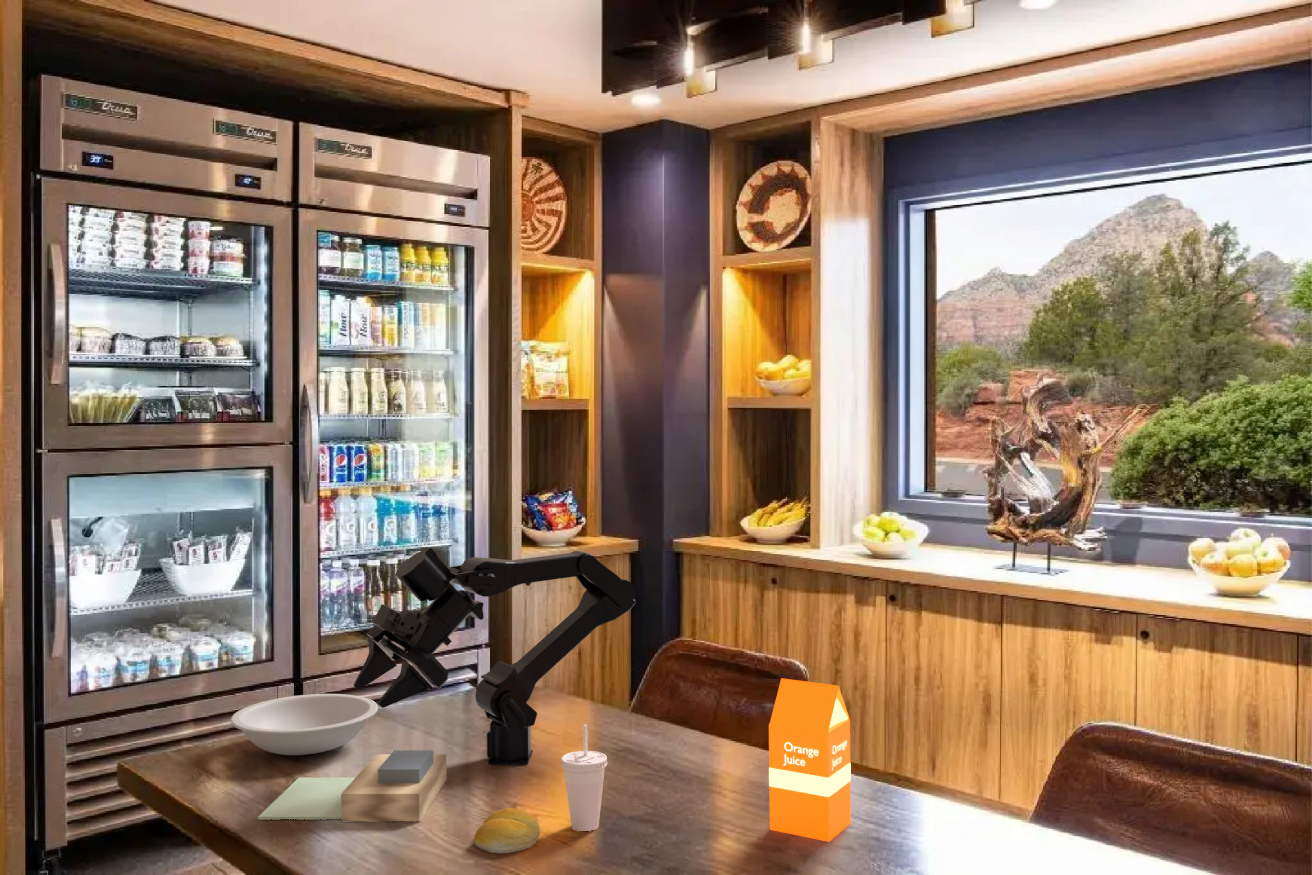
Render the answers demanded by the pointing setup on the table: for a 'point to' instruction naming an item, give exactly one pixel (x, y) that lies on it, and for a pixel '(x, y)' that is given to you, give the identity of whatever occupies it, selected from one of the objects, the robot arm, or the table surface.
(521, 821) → the bread roll
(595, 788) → the smoothie
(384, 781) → the grey bevelled block
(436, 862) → the table surface
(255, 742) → the soup bowl
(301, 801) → the mat
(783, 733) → the orange juice
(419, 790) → the wooden block
